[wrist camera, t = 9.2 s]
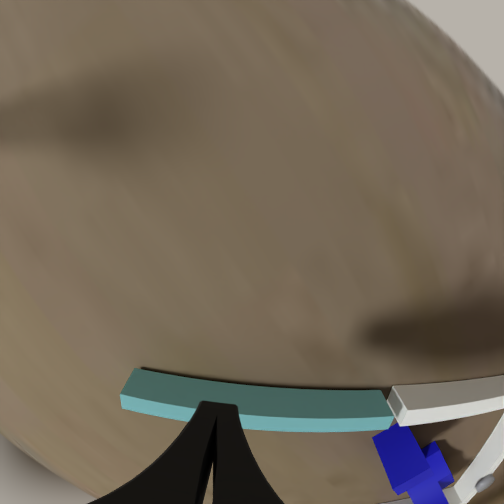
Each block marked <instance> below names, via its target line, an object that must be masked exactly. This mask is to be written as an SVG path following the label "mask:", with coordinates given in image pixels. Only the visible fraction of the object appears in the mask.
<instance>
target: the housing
mask: <svg viewBox="0 0 504 504" xmlns="http://www.w3.org/2000/svg"><path fill="white" fill-rule="evenodd" d="M387 403H388V405H389V407H390V409H391V410H392V412H393V414H394V416H395V418H396V420H397V422H398V424H399V426H410V425H418V424H426V423H433V422H439V421H446V420H451V419H457V418H462V417H468V416H472V415H477V414H482V413H486V412H491V411H495V410H499V409H503V408H504V375H500V376H494V377H487V378H479V379H471V380H462V381H453V382H442V383H430V384H415V385H393V386H392V389H391V391H390V394H389V396H388V399H387ZM503 459H504V414H503V415H502V417H501V419H500V420H499V422H498V424H497V425H496V427H495V429H494V430H493V432H492V434H491V435H490V437H489V438H488V440H487V441H486V443H485V444H484V446H483V447H482V449H481V450H480V452H479V453H478V455H477V456H476V457H475V459H474V460H473V462H472V463H471V464H470V466H469V467H468V469H467V470H466V471H465V472H464V474H463V475H462V476H461V478H460V479H459V480H458V482H457V483H456V484H455V485H454V486H453V487H450V488H447V489H443V490H442V491H443V493H444V495H445V497H446V499H447V501H448V503H449V504H467V503H468V502H469V501H470V499H471V498H472V497H473V496H474V495H475V494H476V493H477V492H481V491H483V490H485V489H486V488H488V487H489V486H490V485H491V484H492V483H493V482H494V480H495V478H494V477H493V475H492V473H493V472H494V471H495V469H496V468H497V467H498V466H499V464H500V463H501V462H502V460H503ZM380 504H413V502H412V500H411V498H407V499H402V500H397V501H392V502H386V503H380Z"/></svg>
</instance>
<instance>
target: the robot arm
mask: <svg viewBox="0 0 504 504" xmlns="http://www.w3.org/2000/svg"><path fill="white" fill-rule="evenodd" d="M212 463H213V503H212V504H284V503H283V501H282V500H281V499H280V498H279V497H278V495H277V494H276V493H275V491H274V490H273V489H272V487H271V486H270V484H269V483H268V481H267V480H266V478H265V477H264V475H263V473H262V472H261V470H260V468H259V466H258V464H257V462H256V460H255V458H254V456H253V454H252V452H251V450H250V448H249V445H248V443H247V440H246V437H245V435H244V432H243V429H242V425H241V422H240V417H239V411H238V406H237V405H236V404H228V403H219V402H212V401H204V400H202V401H201V402H199V404H198V407H197V409H196V411H195V412H194V414H193V416H192V417H191V419H190V420H189V422H188V423H187V425H186V426H185V427H184V429H183V430H182V432H181V433H180V434H179V436H178V437H177V438H176V439H175V440H174V441H173V443H172V444H171V445H170V446H169V447H168V448H167V449H166V450H165V452H164V453H163V454H162V455H161V456H160V457H159V458H158V459H156V460H155V461H154V462H153V463H152V464H151V465H150V466H149V467H147V468H146V469H145V470H144V471H142V472H141V473H140V474H139V475H137V476H136V477H135V478H133V479H132V480H130V481H129V482H127V483H126V484H124V485H122V486H121V487H119V488H118V489H116V490H114V491H113V492H111V493H109V494H107V495H105V496H103V497H101V498H99V499H97V500H94V501H92V502H90V503H88V504H203V500H204V496H205V492H206V488H207V484H208V480H209V476H210V472H211V467H212Z"/></svg>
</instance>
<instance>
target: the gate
mask: <svg viewBox="0 0 504 504" xmlns="http://www.w3.org/2000/svg"><path fill="white" fill-rule="evenodd" d="M120 398H121V405H122V408H123V409H127V410H131V411H136V412H140V413H145V414H149V415H154V416H159V417H164V418H170V419H175V420H181V421H187V422H189V420H190V419H191V417H192V416H193V414H194V412H195V411H196V409H197V407H198V404H199V402H201V401H202V400H204V401H212V402H219V403H228V404H236V405H237V406H238V411H239V417H240V422H241V425H242V428H243V429H254V430H269V431H289V432H350V431H369V430H383V429H389V426H390V424H391V422H392V420H393V418H394V414H393V412H392V410H391V409H390V407H389V405H388V403H387V401H386V399H385V397H384V395H383V394H382V392H381V390H311V389H291V388H275V387H263V386H251V385H241V384H232V383H224V382H216V381H208V380H201V379H194V378H187V377H181V376H175V375H169V374H163V373H158V372H152V371H147V370H142V369H137V368H134V370H133V372H132V374H131V375H130V377H129V379H128V381H127V382H126V384H125V386H124V388H123V390H122V391H121V393H120Z"/></svg>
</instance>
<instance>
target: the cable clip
mask: <svg viewBox="0 0 504 504" xmlns="http://www.w3.org/2000/svg"><path fill="white" fill-rule="evenodd" d="M372 438H373V441H374V443H375V446H376V448H377V451H378V453H379V456H380V458H381V461H382V463H383V466H384V468H385V471H386V473H387V476H388V478H389V481H390V484H391V486H392V489H393V490H394V491H395V492H396V493H397V495H399V494H401V493H403V492H405V491H407V492H408V494H409V496H410V498H411V500H412V502H413V504H449V503H448V501H447V499H446V497H445V495H444V493H443V491H442V489H443V488H445V487H447V486H448V485H450V484H451V483H453V482H454V479H453V477H452V474H451V472H450V470H449V468H448V466H447V464H446V462H445V460H444V458H443V456H442V453H441V451H440V449H439V447H438V446H437V444H436V442H435V441H434V442H432V443H431V444H429V445H427V446H426V447H424V448H423V449H420V447H419V445H418V443H417V441H416V439H415V438H414V436H413V434H412V432H411V430H410V429H409V427H408V426H399V424H398V423H396V424H395V425H393V426H391V427H390V428H389V429H386V430H384V431H383V432H381V433H379V434H377V435H376V436H374V437H372Z"/></svg>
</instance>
